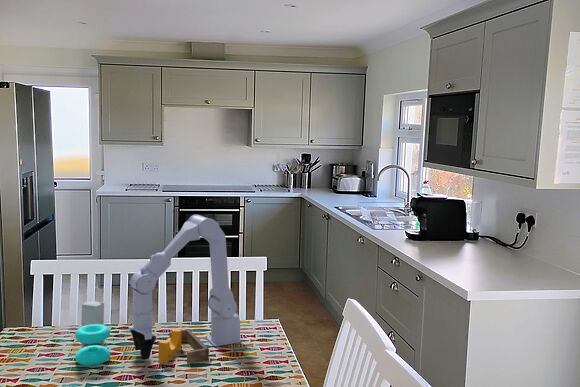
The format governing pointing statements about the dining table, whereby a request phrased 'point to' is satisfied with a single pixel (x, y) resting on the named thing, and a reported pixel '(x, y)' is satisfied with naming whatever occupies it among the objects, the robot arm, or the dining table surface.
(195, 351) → the bracket
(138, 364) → the dining table surface
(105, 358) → the donuts
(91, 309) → the skincare box
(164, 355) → the pipe clamp
